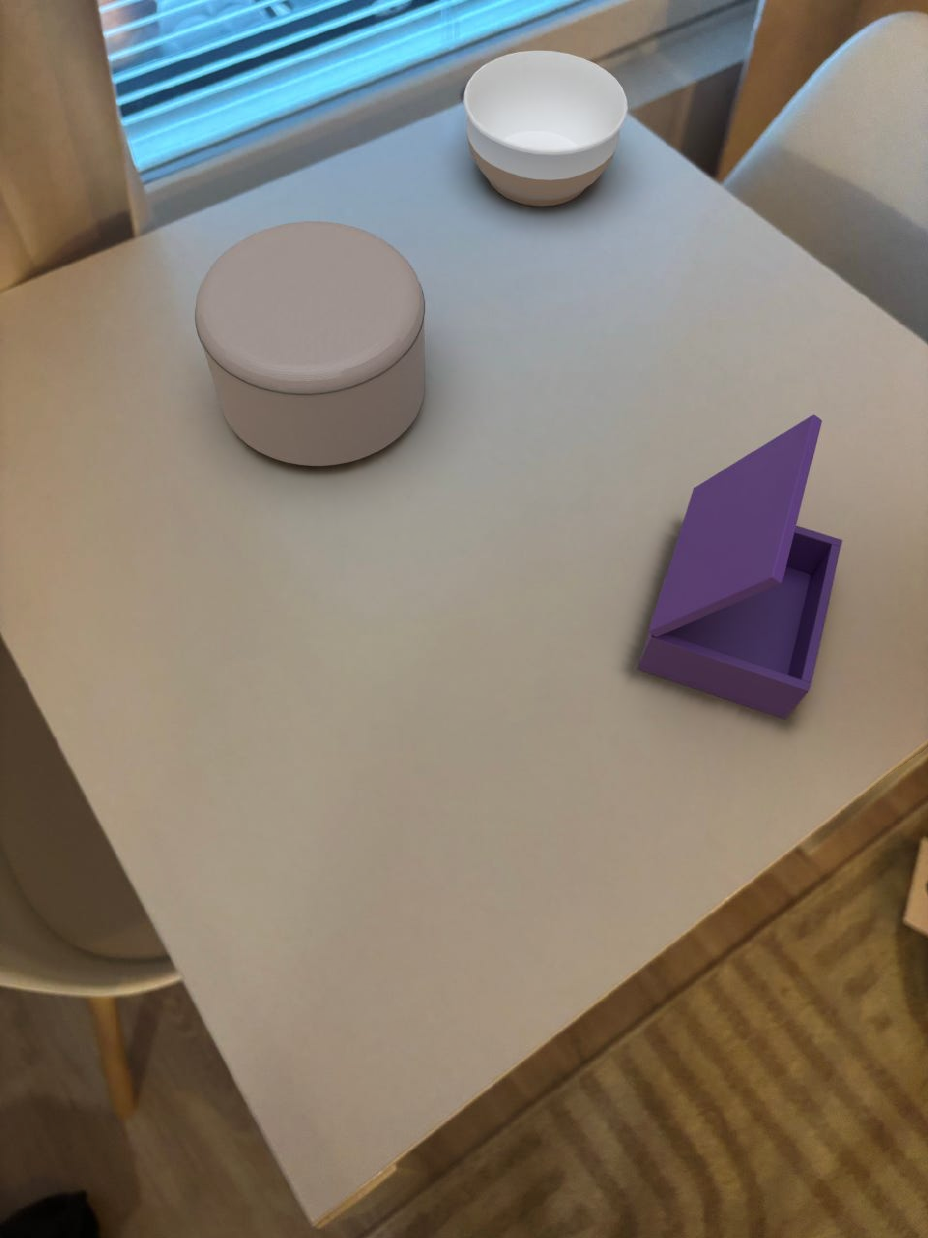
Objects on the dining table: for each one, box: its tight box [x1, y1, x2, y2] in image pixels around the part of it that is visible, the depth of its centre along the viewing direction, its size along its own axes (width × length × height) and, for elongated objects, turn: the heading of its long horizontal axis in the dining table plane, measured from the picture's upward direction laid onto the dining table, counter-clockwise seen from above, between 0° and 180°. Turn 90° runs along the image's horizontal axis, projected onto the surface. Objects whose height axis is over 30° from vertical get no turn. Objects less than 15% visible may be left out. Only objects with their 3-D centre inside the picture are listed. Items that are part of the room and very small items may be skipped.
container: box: [194, 221, 426, 467], centre depth 78 cm, size 18×18×12 cm
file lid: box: [647, 414, 823, 637], centre depth 64 cm, size 12×13×1 cm
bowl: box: [462, 50, 629, 207], centre depth 95 cm, size 16×16×8 cm
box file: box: [636, 525, 843, 720], centre depth 71 cm, size 11×13×5 cm
